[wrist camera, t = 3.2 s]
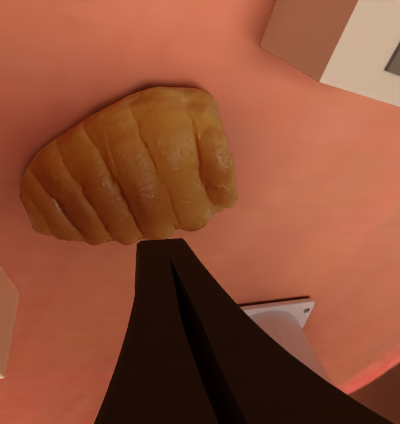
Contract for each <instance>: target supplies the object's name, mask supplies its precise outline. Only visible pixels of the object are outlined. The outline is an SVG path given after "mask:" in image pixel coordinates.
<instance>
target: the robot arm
mask: <svg viewBox="0 0 400 424" xmlns="http://www.w3.org/2000/svg"><path fill="white" fill-rule="evenodd" d="M314 304H315V303H314V301H313V300H312V299H311V298H306V299H298V300H290V301H282V302H274V303H266V304H258V305H250V306H242V307H239V306H238V305H237V304H236V303H235V302H234V300H233V299H232V298H231V297H230V296H229V295H228V294H227V293H226V292H225V290H224V289H223V288H222V287H221V286H220V285H219V284H218V282H217V281H216V280H215V279H214V278H213V277H212V275H211V274H210V273H209V272H208V270H207V269H206V268H205V267H204V265H203V264H202V263H201V262H200V260H199V259H198V258H197V256H196V255H195V254H194V252H193V251H192V250H191V248H190V247H189V246H188V244H187V243H186V241H185V240H184V239H182V238H178V239H162V240H145V241H140V242H139V243H138V244H137V252H136V273H135V298H134V303H133V307H132V311H131V315H130V320H129V324H128V328H127V332H126V335H125V339H124V342H123V345H122V349H121V352H120V355H119V358H118V361H117V364H116V367H115V370H114V373H113V376H112V379H111V381H110V384H109V387H108V390H107V392H106V395H105V398H104V400H103V403H102V406H101V408H100V411H99V413H98V415H97V418H96V420H95V423H94V424H393V423H392V422H390V421H388V420H387V419H385V418H383V417H382V416H380V415H378V414H377V413H375V412H373V411H372V410H370V409H368V408H367V407H365V406H364V405H362V404H360V403H359V402H357V401H355V400H354V399H352V398H351V397H349V396H348V395H346V394H345V393H344V392H342V391H341V390H339V389H338V388H336V387H335V386H334V384H333V383H332V381H331V379H330V377H329V376H328V374H327V372H326V370H325V368H324V367H323V365H322V363H321V361H320V360H319V358H318V356H317V354H316V352H315V351H314V349H313V347H312V345H311V344H310V342H309V340H308V338H307V336H306V335H305V333H304V331H303V327H304V325H305V323H306V321H307V319H308V316H309V314H310V312H311V310H312V308H313V306H314Z"/></svg>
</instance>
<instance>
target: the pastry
mask: <svg viewBox="0 0 400 424" xmlns="http://www.w3.org/2000/svg"><path fill="white" fill-rule="evenodd" d="M236 191H237V188H236V177H235V166H234V162H233V159H232V156H231V154H230V152H229V150H228V140H227V137H226V135H225V132H224V129H223V125H222V121H221V118H220V114H219V110H218V105H217V101H216V100H215V98H214V97H213V96H212V95H211V94H210V93H209V92H207V91H205V90H201V89H197V88H187V87H161V86H158V87H153V88H148V89H146V90H143V91H139V92H136V93H133V94H129V95H128V96H126V97H124V98H123V99H121V100H119V101H118V102H116V103H115V104H112V105H109V106H107V107H106V108H104V109H102V110H100V111H99V112H97V113H95V114H92V115H91V116H89V117H88V118H86V119H85V120H83V121H82V122H80V123H78V124H77V125H75V126H74V127H73V128H71V129H70V130H68V131H67V132H65V133H64V134H62V135H61V136H59V137H58V138H56V139H55V140H53V141H51V142H50V143H48V144H47V145H46V146H44V147H43V148H42V149H40V150H39V151H38V152H37V154H36V155H35V156H34V158H33V159H32V161H31V162H30V164H29V165H28V167H27V169H26V171H25V173H24V175H23V178H22V180H21V182H20V198H21V200H22V203H23V205H24V207H25V209H26V211H27V213H28V214H29V217H30V222H31V224H32V227H33V228H34V229H35V230H36V232H38V233H41V234H44V235H50V236H54V237H56V238H57V239H61V240H68V241H85V242H87V243H89V244H90V245H98V244H101V243H104V242H107V241H117V242H119V243H122V244H124V245H129V244H132V243H134V242H135V241H137V240H139V239H143V238H144V239H148V240H162V239H167V238H168V237H170V236H171V235H172V233H173V232H174V231H175V230H176V229H183V230H185V231H196V230H199V229H201V228H203V227H204V226H205V225H206V223H207V222H208V220H209V218H210V217H211V215H212V214H213V213H215V212H219V211H222V210H224V209H226V208H232V207H233V206H234V205H235V203H236V201H237V192H236Z"/></svg>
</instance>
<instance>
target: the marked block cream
mask: <svg viewBox="0 0 400 424" xmlns="http://www.w3.org/2000/svg"><path fill="white" fill-rule="evenodd" d="M19 296H20V293H19V292H18V290H17V289H16V287H15V286H14V284H13V283H12V281H11V280H10V279H9V277H8V276H7V274H6V273H5V271H4V270H3V269H2V267H1V266H0V379H2V378H5V373H6V367H7V362H8V356H9V351H10V345H11V340H12V334H13V329H14V323H15V318H16V312H17V307H18V301H19Z"/></svg>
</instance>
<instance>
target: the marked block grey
mask: <svg viewBox="0 0 400 424" xmlns="http://www.w3.org/2000/svg"><path fill="white" fill-rule="evenodd" d="M259 46H260V47H262V48H264V49H265V50H267V51H269V52H270V53H272V54H274V55H275V56H277V57H278V58H280V59H282V60H283V61H285V62H287V63H288V64H290V65H292V66H293V67H295V68H297V69H298V70H300V71H302V72H303V73H305V74H307V75H308V76H310V77H312V78H313V79H315V80H317V81H318V82H321V83H324V84H327V85H330V86H334V87H337V88H340V89H343V90H347V91H350V92H353V93H356V94H360V95H363V96H366V97H369V98H373V99H376V100H379V101H382V102H386V103H389V104H392V105H395V106H399V107H400V0H276V3H275V5H274V8H273V11H272V13H271V16H270V19H269V21H268V24H267V27H266V29H265V32H264V35H263V37H262V40H261V43H260V45H259Z"/></svg>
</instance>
